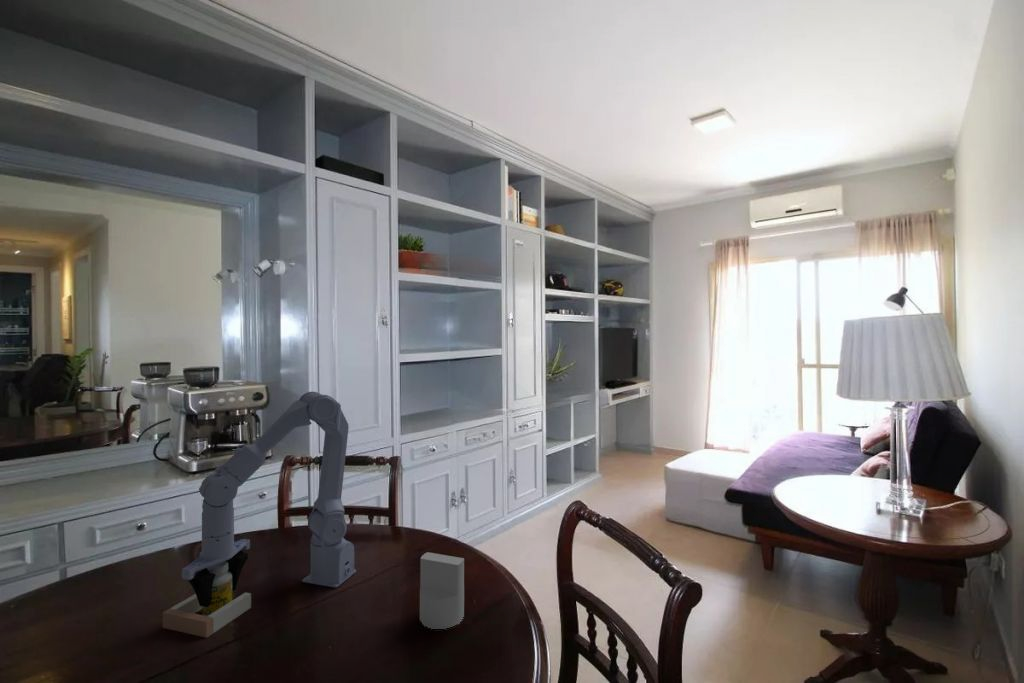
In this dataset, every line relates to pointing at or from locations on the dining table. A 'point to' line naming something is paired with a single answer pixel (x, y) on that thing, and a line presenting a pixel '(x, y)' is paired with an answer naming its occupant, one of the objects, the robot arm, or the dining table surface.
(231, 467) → the robot arm
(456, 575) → the grey rounded block
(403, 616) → the dining table surface
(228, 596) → the supplement bottle
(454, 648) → the dining table surface
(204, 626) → the frame
